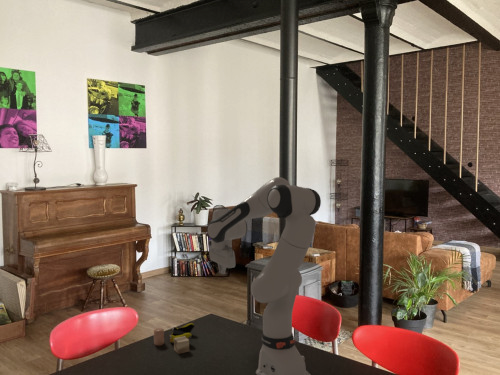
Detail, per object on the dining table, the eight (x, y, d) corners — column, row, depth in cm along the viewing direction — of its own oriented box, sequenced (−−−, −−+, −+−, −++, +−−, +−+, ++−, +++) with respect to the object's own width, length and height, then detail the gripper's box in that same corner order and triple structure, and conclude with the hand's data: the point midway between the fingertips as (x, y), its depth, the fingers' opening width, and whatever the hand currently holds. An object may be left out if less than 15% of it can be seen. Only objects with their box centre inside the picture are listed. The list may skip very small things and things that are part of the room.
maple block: (189, 351, 195) (189, 340, 195) (178, 354, 193) (177, 342, 192) (185, 347, 199) (184, 336, 199) (174, 349, 197) (173, 338, 197)
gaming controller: (195, 333, 215) (173, 333, 215) (194, 321, 215) (173, 322, 215) (191, 346, 200) (168, 346, 200) (191, 334, 200) (168, 334, 200)
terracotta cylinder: (165, 344, 203) (165, 330, 202) (155, 346, 201) (155, 332, 200) (162, 340, 207) (162, 327, 206) (152, 342, 204) (152, 329, 204)
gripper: (238, 246, 201) (239, 278, 202) (218, 239, 219) (219, 268, 219) (225, 248, 198) (226, 279, 199) (206, 240, 215) (207, 269, 216)
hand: (222, 273), depth 209 cm, fingers closed
